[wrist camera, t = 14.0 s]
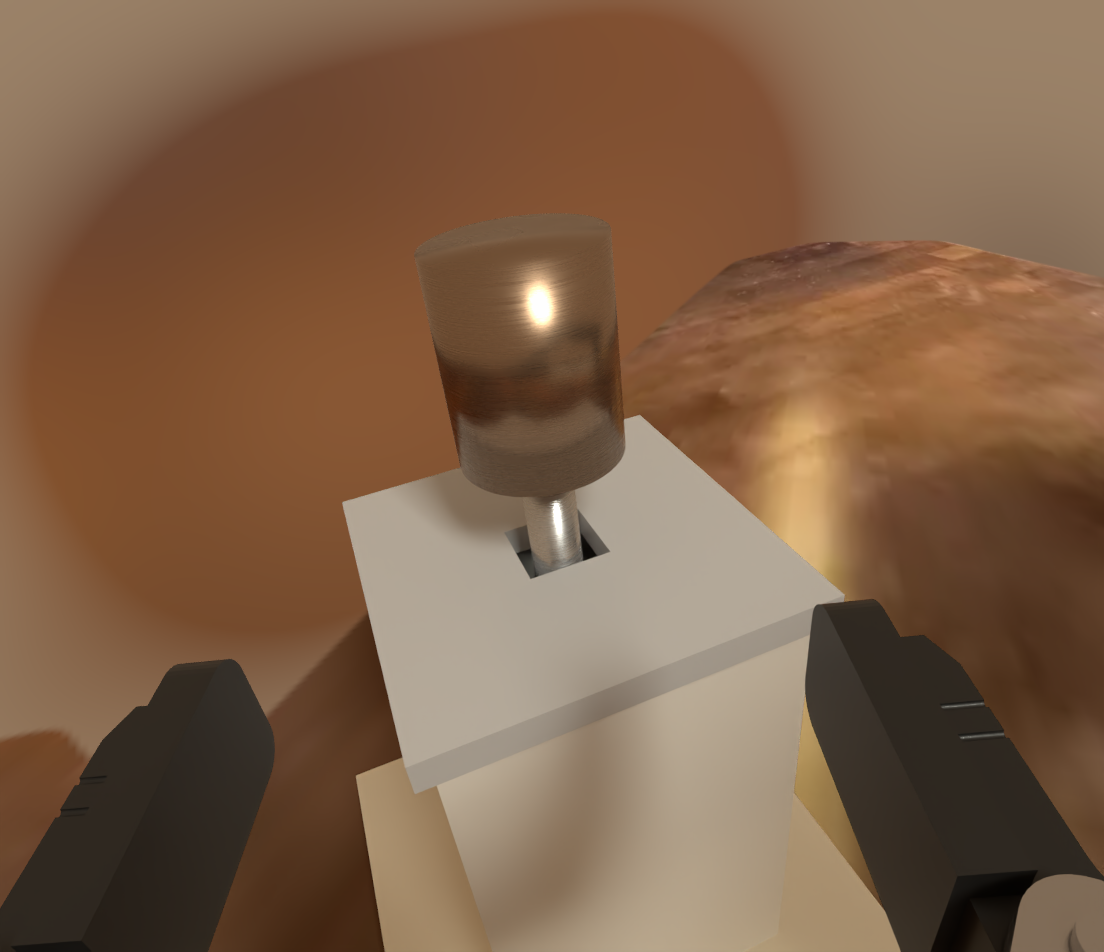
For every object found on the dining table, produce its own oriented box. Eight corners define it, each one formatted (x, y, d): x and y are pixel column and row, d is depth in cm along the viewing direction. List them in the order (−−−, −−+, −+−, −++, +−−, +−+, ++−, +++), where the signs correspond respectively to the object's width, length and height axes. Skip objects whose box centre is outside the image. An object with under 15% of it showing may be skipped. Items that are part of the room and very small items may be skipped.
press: (684, 661, 44) (677, 357, 33) (945, 1012, 28) (1102, 642, 17) (361, 788, 39) (228, 481, 28) (449, 1306, 23) (216, 1052, 12)
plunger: (639, 695, 35) (601, 181, 22) (742, 859, 28) (776, 238, 15) (466, 765, 33) (314, 239, 20) (530, 961, 25) (357, 338, 13)
